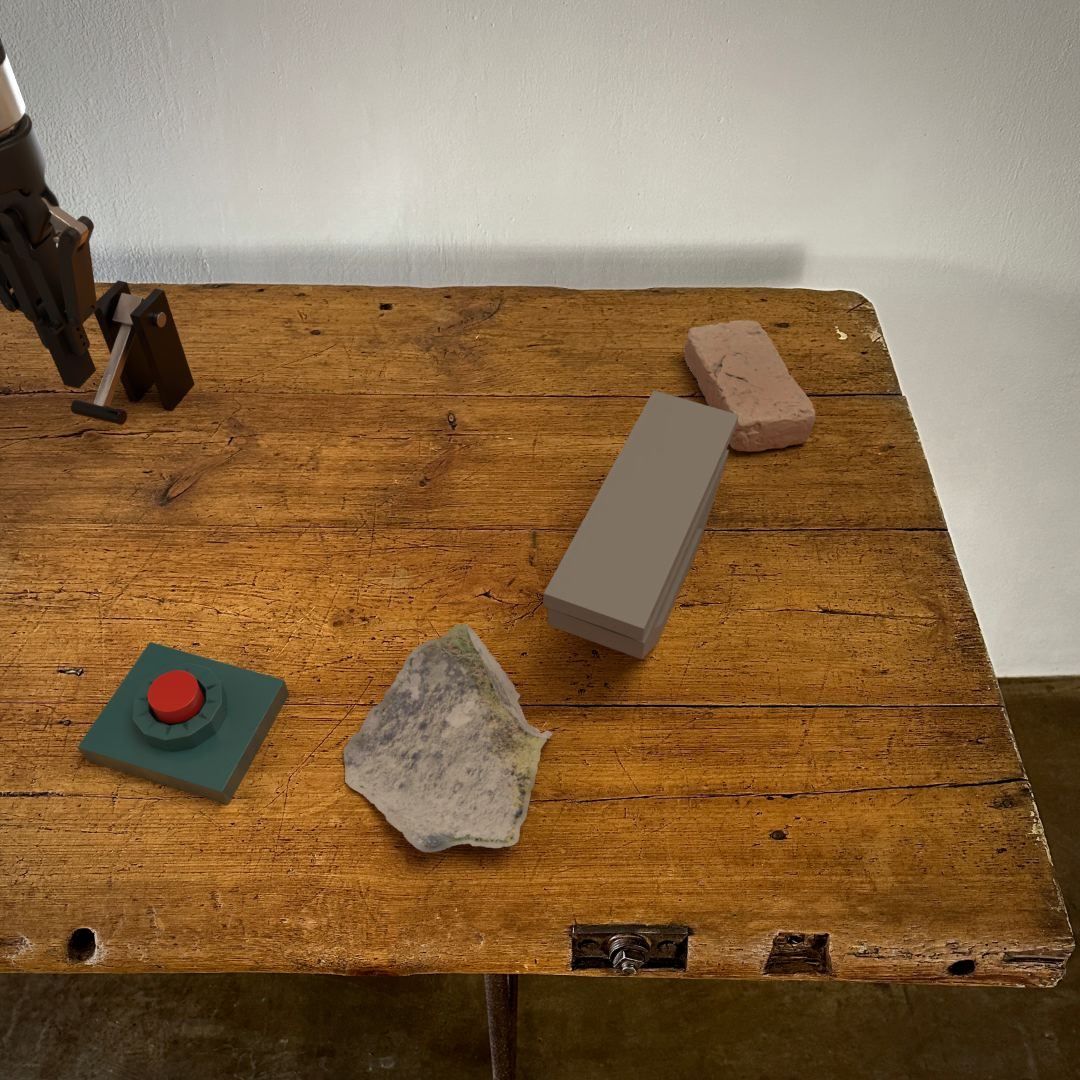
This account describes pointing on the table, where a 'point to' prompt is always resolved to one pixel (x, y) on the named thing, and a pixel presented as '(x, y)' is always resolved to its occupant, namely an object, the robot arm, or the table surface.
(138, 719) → the control block
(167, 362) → the bracket
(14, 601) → the table surface
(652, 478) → the sharpening stone
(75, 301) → the robot arm
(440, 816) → the rock fragment
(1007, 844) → the table surface
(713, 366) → the brick
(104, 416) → the lever
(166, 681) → the button
